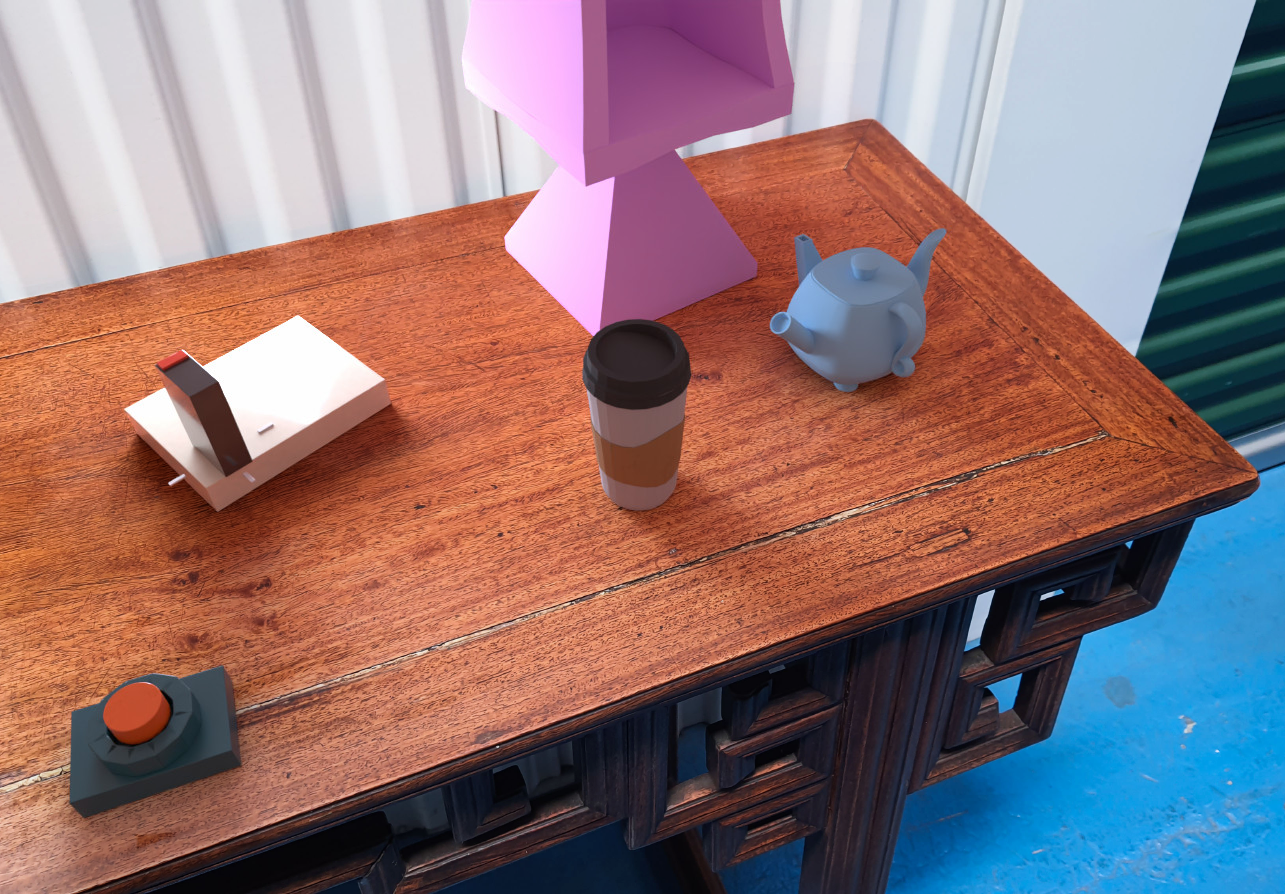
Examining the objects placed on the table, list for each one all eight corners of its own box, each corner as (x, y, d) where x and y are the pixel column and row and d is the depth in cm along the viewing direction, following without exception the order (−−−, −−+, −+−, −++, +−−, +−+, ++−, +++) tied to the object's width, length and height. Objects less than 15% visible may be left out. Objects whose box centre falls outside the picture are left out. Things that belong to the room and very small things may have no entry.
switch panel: (212, 539, 81) (199, 514, 79) (116, 443, 89) (102, 418, 87) (407, 415, 91) (400, 389, 89) (305, 339, 99) (297, 313, 97)
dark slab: (253, 461, 83) (218, 378, 76) (226, 477, 82) (188, 394, 75) (218, 430, 86) (182, 347, 79) (192, 445, 84) (152, 362, 78)
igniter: (83, 818, 65) (56, 790, 62) (84, 727, 69) (59, 697, 66) (241, 766, 67) (223, 736, 64) (232, 681, 72) (214, 650, 69)
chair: (595, 355, 97) (563, -176, 64) (488, 248, 110) (418, -238, 78) (774, 278, 105) (825, -225, 73) (656, 186, 118) (654, -274, 86)
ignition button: (113, 752, 64) (102, 739, 63) (113, 706, 66) (102, 692, 65) (172, 734, 65) (162, 720, 64) (169, 688, 67) (160, 674, 66)
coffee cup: (644, 436, 89) (642, 301, 78) (708, 488, 84) (715, 352, 74) (570, 481, 85) (557, 345, 74) (633, 538, 80) (628, 403, 70)
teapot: (789, 299, 103) (800, 203, 94) (924, 320, 100) (947, 223, 92) (761, 396, 92) (771, 298, 84) (911, 422, 90) (936, 323, 82)
